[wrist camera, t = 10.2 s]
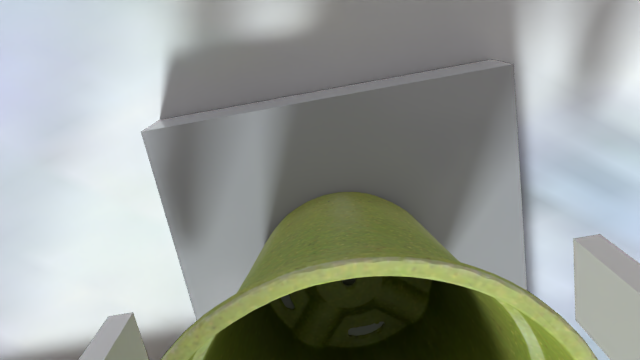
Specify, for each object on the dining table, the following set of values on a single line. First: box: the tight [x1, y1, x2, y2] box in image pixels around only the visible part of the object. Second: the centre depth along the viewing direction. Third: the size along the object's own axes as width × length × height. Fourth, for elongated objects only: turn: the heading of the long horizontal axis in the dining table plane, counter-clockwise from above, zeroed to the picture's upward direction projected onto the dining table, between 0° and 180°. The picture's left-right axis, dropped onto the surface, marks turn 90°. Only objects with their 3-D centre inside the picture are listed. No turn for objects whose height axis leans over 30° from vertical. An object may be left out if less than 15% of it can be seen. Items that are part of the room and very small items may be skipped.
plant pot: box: [161, 192, 598, 360], centre depth 14 cm, size 9×9×9 cm
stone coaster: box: [141, 59, 527, 336], centre depth 19 cm, size 12×12×2 cm
